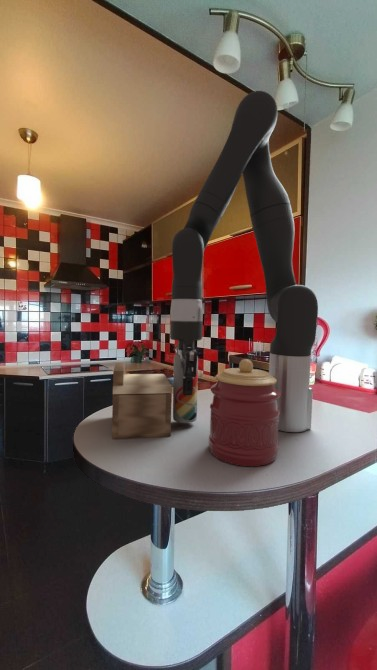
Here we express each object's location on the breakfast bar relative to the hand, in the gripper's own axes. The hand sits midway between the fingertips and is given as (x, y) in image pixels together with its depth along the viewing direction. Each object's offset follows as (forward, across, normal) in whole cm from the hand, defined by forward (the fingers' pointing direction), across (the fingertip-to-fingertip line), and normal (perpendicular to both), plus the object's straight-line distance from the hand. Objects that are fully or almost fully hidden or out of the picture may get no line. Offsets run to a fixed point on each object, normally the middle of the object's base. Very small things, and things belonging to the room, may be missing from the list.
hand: (185, 391), depth 71 cm
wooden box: (+8, 0, +10) cm, 13 cm away
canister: (+8, -16, -8) cm, 20 cm away
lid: (-2, 0, +10) cm, 10 cm away
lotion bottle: (+7, 0, 0) cm, 7 cm away
